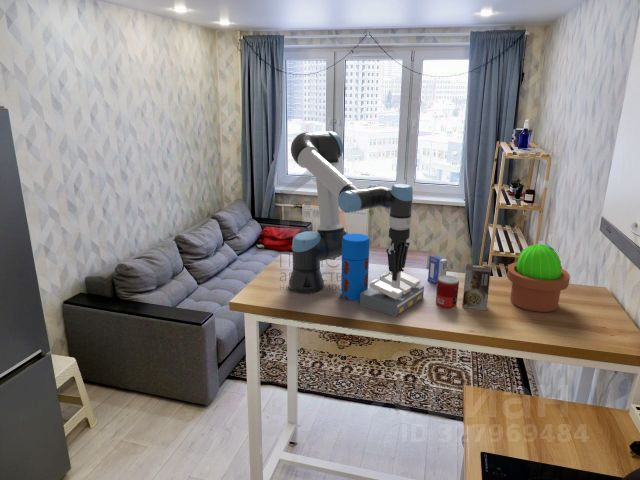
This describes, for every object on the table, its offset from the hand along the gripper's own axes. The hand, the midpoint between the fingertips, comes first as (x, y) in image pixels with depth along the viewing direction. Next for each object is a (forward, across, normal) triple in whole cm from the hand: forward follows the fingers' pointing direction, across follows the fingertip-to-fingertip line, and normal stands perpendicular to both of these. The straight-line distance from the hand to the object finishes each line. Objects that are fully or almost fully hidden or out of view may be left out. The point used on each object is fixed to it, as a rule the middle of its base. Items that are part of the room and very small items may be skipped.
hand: (395, 287), depth 175 cm
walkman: (+10, +36, 0) cm, 37 cm away
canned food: (+10, +18, -13) cm, 24 cm away
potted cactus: (+10, +42, -39) cm, 58 cm away
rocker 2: (+2, +7, +4) cm, 8 cm away
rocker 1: (+2, 0, +4) cm, 4 cm away
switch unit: (+10, +7, +5) cm, 13 cm away
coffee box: (+10, +24, -22) cm, 34 cm away
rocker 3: (+2, +14, +4) cm, 15 cm away
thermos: (+10, +2, +20) cm, 23 cm away
